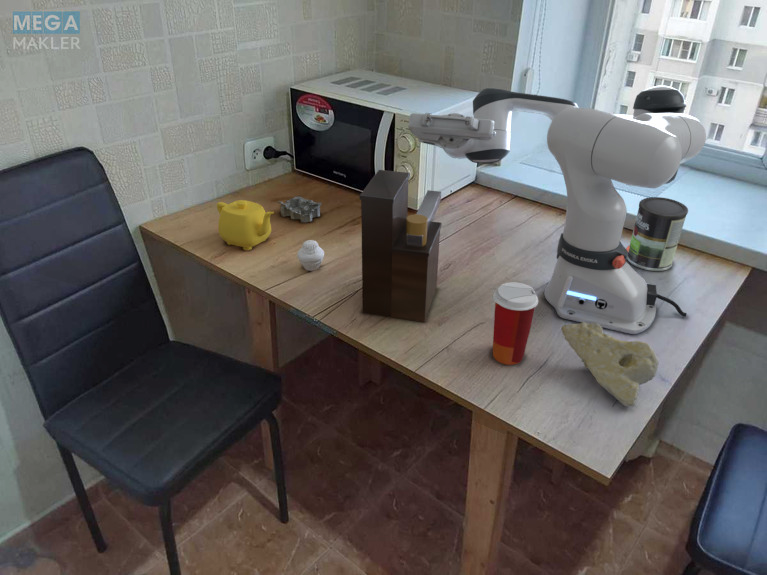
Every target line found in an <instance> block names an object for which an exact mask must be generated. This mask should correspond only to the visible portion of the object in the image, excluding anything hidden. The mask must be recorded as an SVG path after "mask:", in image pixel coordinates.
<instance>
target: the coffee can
mask: <svg viewBox="0 0 767 575" xmlns="http://www.w3.org/2000/svg"><path fill="white" fill-rule="evenodd" d="M688 214H689V208H688V207H687V206H686V205H685V204H684V203H682V202H680V201H678V200H676V199H671V198H668V197H662V196H661V197H660V196H651V197H645V198H643V199H641V200H640V201H639V203H638V210H637V213H636V217H635V221H634V225H633V229H632V230H633V231H632V234H631V238H630V243H629V246H630V248H629V252H628V256H627V262H629V263H630V264H631V265H633V266H634V267H637V268H639V269H642V270H645V271H650V272H664V271H667V270H669V269H671V268H672V266H673V262H674V258H675V256H676V252H677V248H678V245H679V241H680V238H681V234H682V231H683V227H684V224H685V221H686V218H687V215H688Z"/></svg>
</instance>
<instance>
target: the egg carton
mask: <svg viewBox="0 0 767 575" xmlns="http://www.w3.org/2000/svg"><path fill="white" fill-rule="evenodd" d="M277 204H279V206H280V214H281V217H290V219H291V220H300V222H301V223H303V224H304V223H311V222H313V218H319V217H321V208H320V207H321V205H322V204H323V202H315V201H313V199H306V198H304V197H302V196H299V195H298V196H294V197H292V198H290V199H289V200H288V199H286V200H285V203H284V201H280V200H277Z"/></svg>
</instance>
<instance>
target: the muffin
mask: <svg viewBox="0 0 767 575" xmlns="http://www.w3.org/2000/svg"><path fill="white" fill-rule="evenodd" d="M324 257H325V250H324V249H323V248H321V247H320V246H319V243H318V242H317V241H316V240H314V239H308V240H304V242H303V243H302V245H301V247H300V249H298V251H297V252H296V258H297V259H298V262H299V263H300V264H301V266H302V267H303V269H305V270H306V271H309V272H313V271H316V270H318V269H319V268H320V266H321V264H322V263H323V260H324Z"/></svg>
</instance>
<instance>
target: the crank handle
mask: <svg viewBox="0 0 767 575" xmlns="http://www.w3.org/2000/svg"><path fill="white" fill-rule="evenodd" d="M441 203H442V191H438V190H429V189H427V191H426V193H425V195H424V197H423V199H422V201H421V203H420V206H419V208H418V210H417V211H416V213H415V214H410V215H407V218H406V246H410V247H419V248H422V246H424V245H425V244H426V242H427V234H428V232H429V229H430V227H431V224H432V222H434V219H435V217H436V215H437V212H438V210H439V208H440V205H441Z"/></svg>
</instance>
